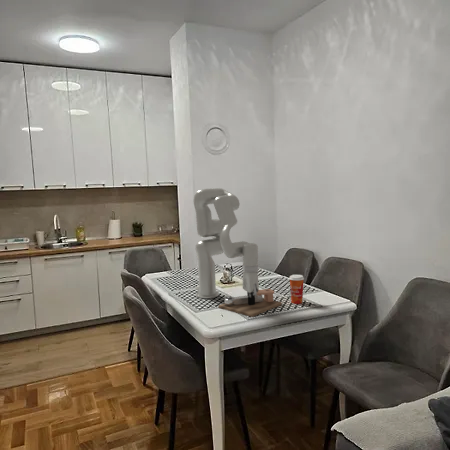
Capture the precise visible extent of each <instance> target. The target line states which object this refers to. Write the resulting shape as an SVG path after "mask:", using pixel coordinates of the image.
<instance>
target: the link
mask: <svg viewBox="0 0 450 450" xmlns="http://www.w3.org/2000/svg"><path fill="white" fill-rule="evenodd" d="M263 298H264V295H255V302H262V301H263ZM224 303H225V305H226V306H233V305H239V304H246V303H248V296H247V295H240V296H227V297H224Z"/></svg>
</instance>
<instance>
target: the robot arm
mask: <svg viewBox="0 0 450 450" xmlns="http://www.w3.org/2000/svg"><path fill="white" fill-rule="evenodd" d="M208 205H213V206H214V209H215V212H216V214H217V217H218V219H217V218H214V219H213V218H212V211H211V208H210V207H209V206H208ZM193 206H194V211H195V219H196V231H197V235H198V236H199V237H200V238H209V239H203V240H202V239H201V240H200V241H198V242H197V243H196V245H195V254H196V257H197V271H198V273H197V275H198V285H196V287H195V288H194V290H195V291H197V292H196V293H195V295H196V297H197V298H198V299H214V298H217V297H218V296H220V295H219V291H217V287H216V286H217V285H216V284H217V283H216V263H215V261H214V259H213V256H219V255H222V254H224V255H225V257H226V258H228V259H234V258H240V257H242V289H243V290H244V291H246V294H247V295H246V296H248V305H255V295H257V293H256V292H258V290H260V289H259V273H258V272H259V246H258V244H257V243H254V242H253V243H250V242H247V241H243V240H242V241H236V242H232V240H231V237H230V232H231V229H232V228H234V227H235V226H236V225H237V224H238V218H237V215H236V214H235V211H237V210H238V209H239V208H240V200H239V198H238V197H237V196H236V195H235V194H234V193H232V192H230V191H228V190H226V189H224V188H220V187H219V188H202V189H199V190H197V191H196V192H195V193H194V195H193ZM210 237H211V238H210Z"/></svg>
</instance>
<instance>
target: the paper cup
mask: <svg viewBox="0 0 450 450" xmlns="http://www.w3.org/2000/svg"><path fill="white" fill-rule="evenodd" d="M288 279H289V288H290V300H291V304H294V305H301V304H302V303H303V297H304V280H305V277H304V275H303V274H292V275H289V278H288Z"/></svg>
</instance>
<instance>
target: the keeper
mask: <svg viewBox="0 0 450 450" xmlns="http://www.w3.org/2000/svg"><path fill="white" fill-rule="evenodd" d="M256 293H257V295H262V296H263V298H264V300H266V301H267V302H273V301H274V294H275V290H273V289H271V288H266V289H265V288H264V289H259V290H258V292H256Z"/></svg>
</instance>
